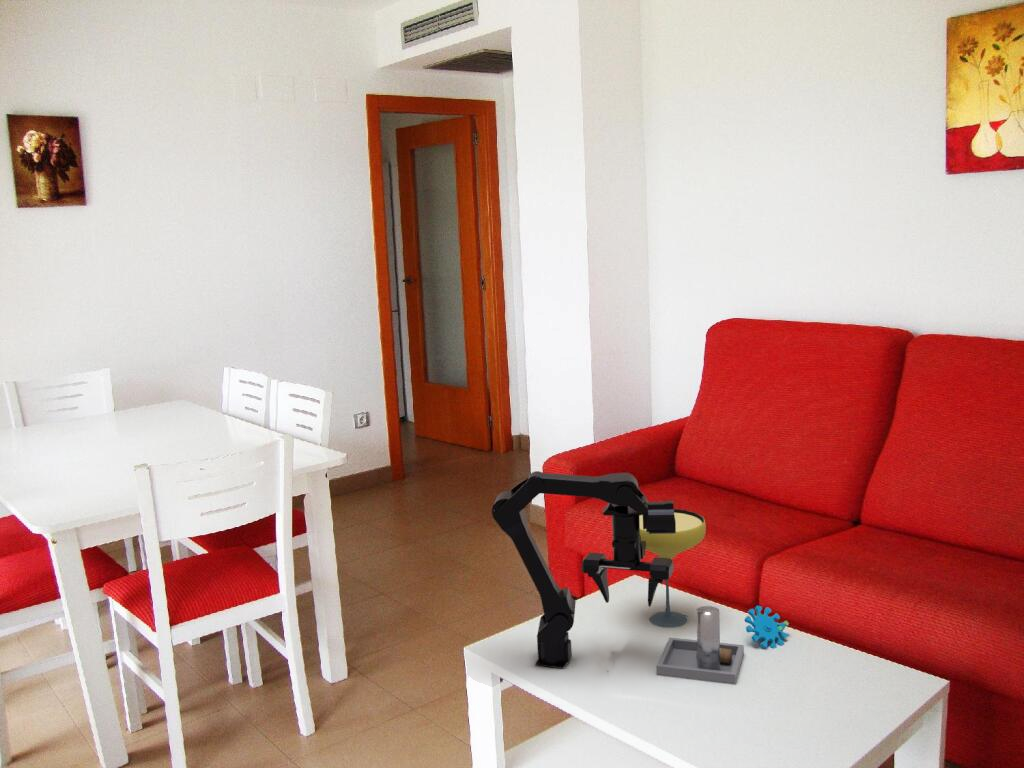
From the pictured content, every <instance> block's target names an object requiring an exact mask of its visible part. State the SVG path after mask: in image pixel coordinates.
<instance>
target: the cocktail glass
mask: <svg viewBox="0 0 1024 768" xmlns="http://www.w3.org/2000/svg"><path fill="white" fill-rule="evenodd" d="M674 516H675V521H676V533H675V534H649V533H648V532H646V529H643V515H639V520H640V535H641V541H646V551H648V552H651V553H653V554H655V555H657V556H658V558H670V559H671V560H672V561H673V559H674V558H675V556H677V555H679V554H680V553H683V552H685V551H687V550H690V549H692V548H694V547H696V546H698V544H699V543H701V542H702V541H703V540H704V538H705V536H706V531H707V526H706V525H707V524H706V520H705V518H704V516H702V515H701V514H699V513H696V512H695V511H690V510H687V509H680V508H679V509H678V508H674ZM669 579H670V578H669ZM669 579H667V580H665V588H666V589H665V609H664V611H658V612H654V613H653V614H652V615H650V617H649V618H648V621H649V623H651V625H653V626H656V627H660V628H664V629H671V628H678V627H679V628H680V627H682V626H684V625H686V624H687V622H688V617H689V615H687V614H684V613H681V612H676V611H671V605H670V588H669V587H670V585H669Z"/></svg>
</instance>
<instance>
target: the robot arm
mask: <svg viewBox="0 0 1024 768" xmlns="http://www.w3.org/2000/svg"><path fill="white" fill-rule="evenodd" d="M539 494H544V495H545V494H547V495H557V496H558V495H559V496H570V497H571V496H572V497H583V498H594V499H598V500H600V501H603V502H606V503H607V504H606V505H605V506H604V507H603V508H602V510H603V511H602V515H603V516H611V521H612V523H611V525H612V542H611V547H612V551H613V552H612V554H613V555H612V557H613V559H611V558H610V559H609V558H607V556H606V554H605V553H604V552H603V553H602V552H588V553H587V554H586V556H585V557H584V558H583V560H582V561H581V573H583V574H587V576H588V578H592V580H593V582H594V583H595V584H596V585H597V586H596V587H597V588H598V589H599V592H600V594H601V595H602V597H603V599H604V601H605V603H606V604H608V603H609V602H610V591H609V582H608V569H611V570H624V571H637V572H649V576H650V577H649V579H648V585H647V605H648V607H649V608H650V607H651V606H652V603H653V601H654V597H655V594H656V591H657V588H658V585H659V584H662V583H663V582H664V581H666V580H667V579H670V578H671V576H672V574H673V572H674V571H675V570H674V561H673V559H672V560H671V559H670V558H660V557H659V556H658V557H656V556H655V557H654V558H653V559H652V561H651V562H650V561H642V560H644V558H645V557H646V551H647V550H646V541H641V535H640V520H639V515H643V529H646V532H648V533H649V534H675V533H676V521H675V516H674V509H675V508H674V507H675V506H674V501H673V500H665V501H664V500H663V501H648V498H647V497H646V495H645V494H644V493H643V492H642V490H640V488H639V482H638V480H637V479H636V477H635V476H634V475H633V474H631V473H629V472H616V473H615V472H614V473H608V474H604V475H599V476H590V475H578V474H577V475H574V474H566V473H565V474H563V473H562V474H561V473H550V472H541V471H532V472H530V474H529V475H528V476H527V477H526V478H525V479H523V480H522V481H520V482H519V483H517V484H516V485H514V487H512V488H511V489H510V490H504V491H502V492H501V493H498V495H497V497H496V498H495V500H494V503H493V505H492V508H491V515H492V518H493V520H494V521H495V523H496V524H497V525H498V527H499V528H500V529H501V530H502V532H503V533H504V534H506V536H508V537H509V538H510V540H511V541H512V543H513V545H514V547H515V550H517V552H518V555H519V556H520V558H521V560H522V562H523V565H524V566H525V568H526V570H527V572H528V574H529V576H530V578H531V581H532V583H533V585H534V586H535V588H536V590H537V592H538V594H539V596H540V601H541V606H542V610H543V614H542V615H541V616H540V619H539V624H538V628H537V629H538V630H537V634H536V642H537V643H536V644H537V645H536V647H537V659H536V661H535V666H540V667H548V668H549V667H550V668H556V669H558V668H559V669H564V668H565V667H566V665H567V664H568V663H570V662H569V661H570V660H571V659H572V658H573V655H572V653H573V652H572V650H573V649H572V640H571V639H570V636H569V632H570V631H571V630H572V628H573V626H574V623H575V622H574V621H575V613H576V612H575V611H576V604H577V603H576V600H575V599H574V598H573V597H572V594H571V592H570V588H569V587H568V586H566V587H564V588H561V587H560V586H559V584H557V582H556V581H555V578H554V576H553V574H552V573H551V570H550V569H549V567H548V564H547V563H546V561H545V559H544V556H543V555H542V552H541V551H540V548H539V547H538V544H537V542H536V541H535V539H534V537H533V534H532V533H531V530H530V529H529V525H528V521H527V515H526V512H525V508H526V507H527V506H528V505H529V504H530V502H532V501H533V500H534V499H535V498H536V497H537V496H538V495H539Z"/></svg>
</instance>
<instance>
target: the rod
mask: <svg viewBox="0 0 1024 768" xmlns="http://www.w3.org/2000/svg"><path fill="white" fill-rule="evenodd" d="M731 662H732V649H724V648H720V663H726V664H731Z"/></svg>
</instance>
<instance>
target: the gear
mask: <svg viewBox="0 0 1024 768" xmlns="http://www.w3.org/2000/svg"><path fill="white" fill-rule="evenodd" d="M762 610H763V606H761V605H756V606H755V607H754V608H749V610H748V611H747V616H746V617H745V618H744V620H743V621H744V622H745V623H746V624H750V625H747V626H746V627H745V631H746V633H754V634H752V636H751V637H750V638H751V640H752V642H753V643H756V642H758V640H759V639H762V640H763V641H762V642H760V644H759V646H760V647H761V648H762V649H766V648H767V647H768V641H769V642H770V645H769V648H770V649H777V648H778V646H783V645H785V641H784V640H785V639H786V638H787V636H788V633H786V632H784V630H785V629H786V627H788V626H789V624H790V623H789V622H788V620H785V621H783V622H780V623H779V622H777V621H778V620H780V619H781V617H780V615H779V614H778V613H777V612H776V613H775V614H773V615H772V616H769V614H771V613H772V609H771V608H770V607H768V606H767V607H765V609H764V611H763V612H764V613H763V614H762V613H761V611H762ZM755 613H756V615H755ZM775 640H776V641H775Z"/></svg>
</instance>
